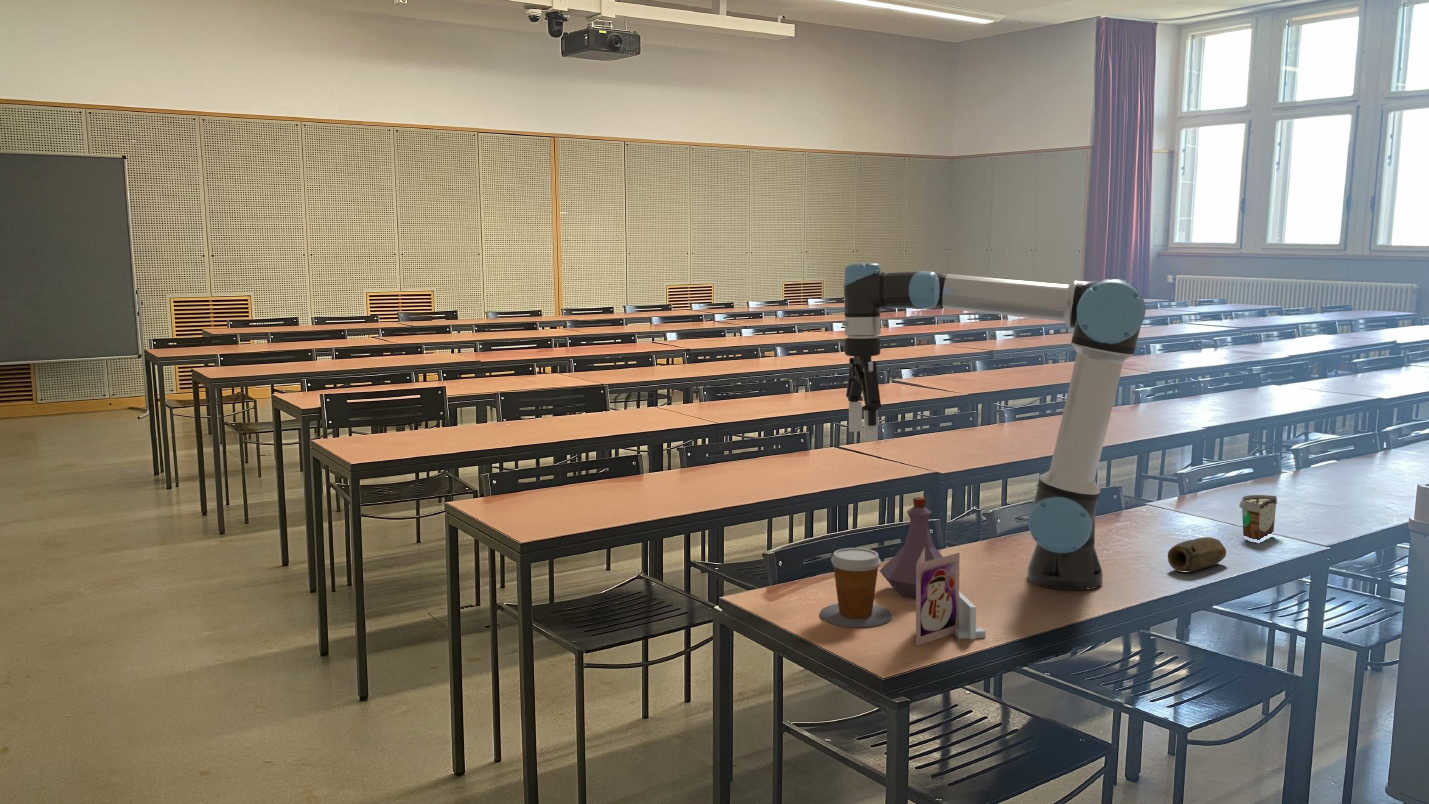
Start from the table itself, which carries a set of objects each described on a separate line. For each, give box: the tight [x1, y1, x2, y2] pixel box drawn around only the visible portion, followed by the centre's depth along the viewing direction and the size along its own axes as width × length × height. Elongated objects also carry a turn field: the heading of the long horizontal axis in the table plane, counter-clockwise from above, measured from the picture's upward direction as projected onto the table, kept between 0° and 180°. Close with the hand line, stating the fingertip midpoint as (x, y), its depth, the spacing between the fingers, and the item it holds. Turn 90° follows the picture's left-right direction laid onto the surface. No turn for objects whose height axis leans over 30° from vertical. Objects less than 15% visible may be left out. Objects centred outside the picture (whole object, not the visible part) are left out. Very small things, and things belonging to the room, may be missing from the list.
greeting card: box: [915, 548, 961, 646], centre depth 182 cm, size 11×7×15 cm, turn 126°
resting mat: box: [819, 603, 893, 629], centre depth 194 cm, size 14×14×1 cm
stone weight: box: [1167, 536, 1227, 572], centre depth 220 cm, size 15×7×7 cm, turn 129°
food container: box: [1238, 494, 1278, 540], centre depth 243 cm, size 12×6×10 cm, turn 133°
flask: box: [878, 496, 944, 601], centre depth 206 cm, size 16×16×20 cm
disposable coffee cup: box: [830, 547, 882, 619], centre depth 193 cm, size 10×10×12 cm
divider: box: [954, 590, 987, 640], centre depth 188 cm, size 5×17×6 cm, turn 5°
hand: (862, 436), depth 214 cm, fingers open, 13 cm apart
